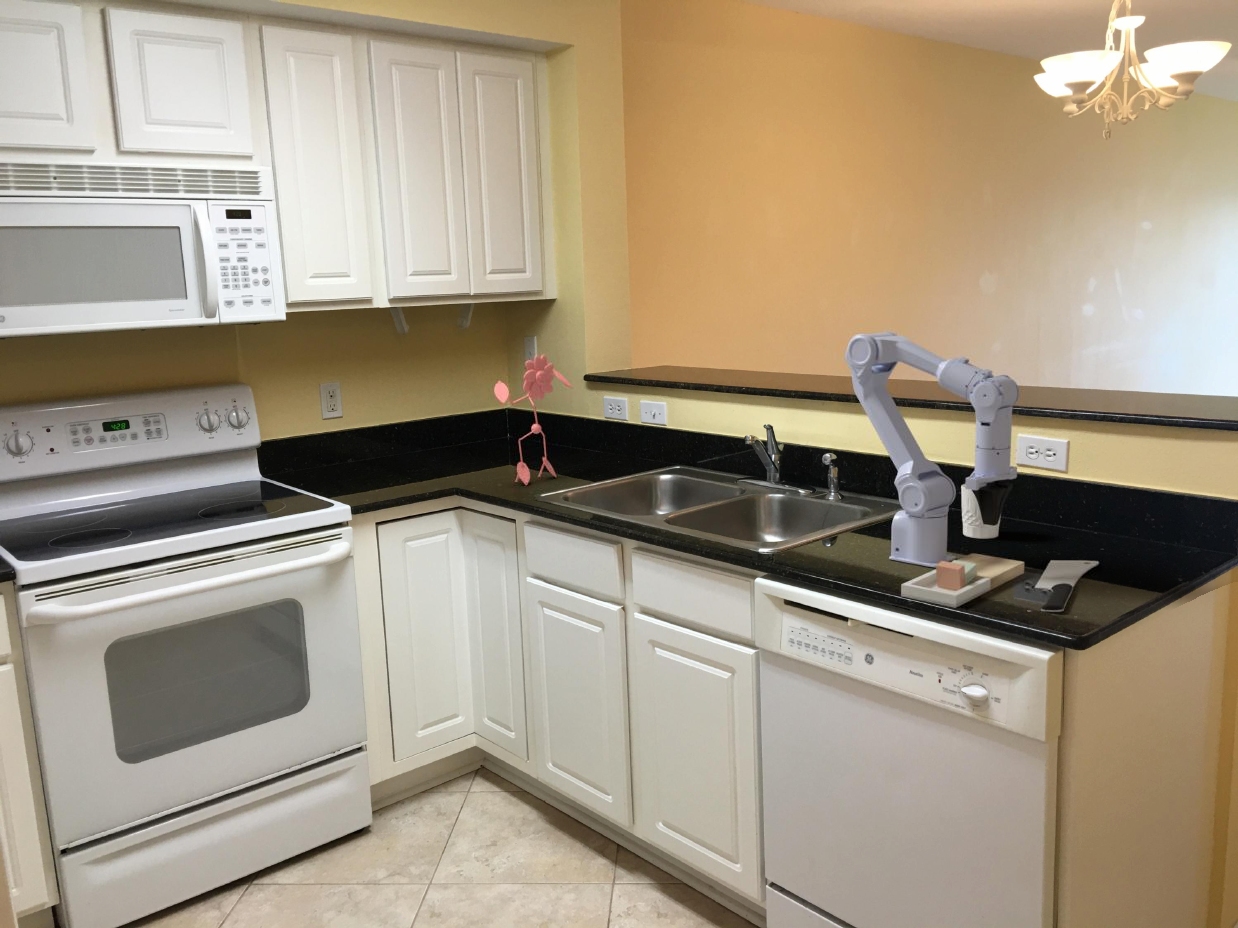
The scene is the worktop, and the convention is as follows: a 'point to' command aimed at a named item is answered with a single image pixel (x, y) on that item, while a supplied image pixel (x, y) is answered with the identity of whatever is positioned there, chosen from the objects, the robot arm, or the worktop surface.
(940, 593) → the grey tray
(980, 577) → the wooden board
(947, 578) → the terracotta tile
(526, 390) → the figurine
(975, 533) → the white cup
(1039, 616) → the worktop surface
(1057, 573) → the kitchen cleaver
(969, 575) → the sage tile
